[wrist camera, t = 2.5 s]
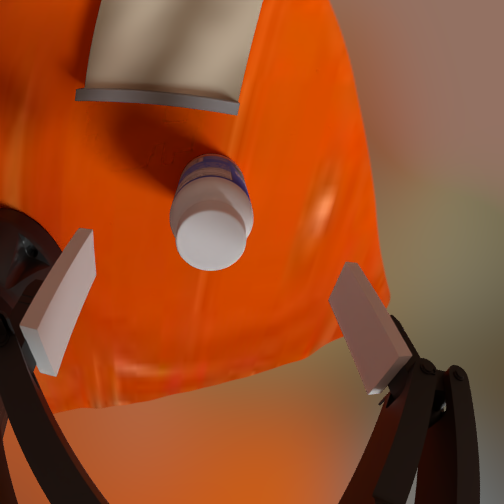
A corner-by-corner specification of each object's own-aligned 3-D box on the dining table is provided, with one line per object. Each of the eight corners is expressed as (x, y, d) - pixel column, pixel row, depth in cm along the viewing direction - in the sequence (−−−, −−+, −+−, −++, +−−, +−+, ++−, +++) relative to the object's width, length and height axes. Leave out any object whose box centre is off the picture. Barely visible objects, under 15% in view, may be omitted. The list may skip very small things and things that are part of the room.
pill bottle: (244, 210, 27) (260, 278, 19) (182, 214, 26) (171, 284, 18) (243, 150, 24) (261, 195, 16) (176, 154, 23) (157, 202, 15)
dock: (97, 95, 19) (75, 100, 16) (124, -28, 14) (107, -46, 10) (232, 108, 22) (237, 115, 18) (263, -16, 16) (274, -33, 12)
